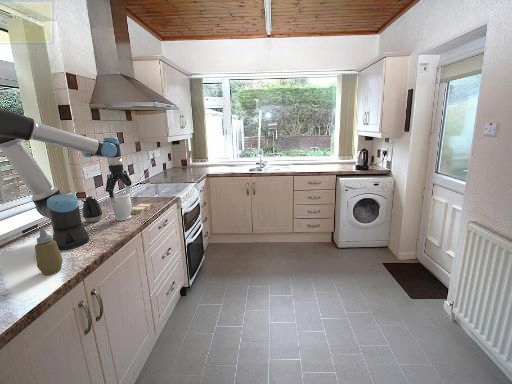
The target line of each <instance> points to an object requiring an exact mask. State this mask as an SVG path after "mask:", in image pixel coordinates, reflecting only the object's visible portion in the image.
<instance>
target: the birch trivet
mask: <svg viewBox="0 0 512 384" xmlns="http://www.w3.org/2000/svg"><path fill="white" fill-rule="evenodd" d="M152 208H154V206H153V203H139V204H137V205H134V206H132V207H131V214H132V215H133V214H134V215H135V214H136V215H141V214H143V213H145V212H147V211H149V210H150V209H152ZM131 214H130V215H131Z"/></svg>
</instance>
